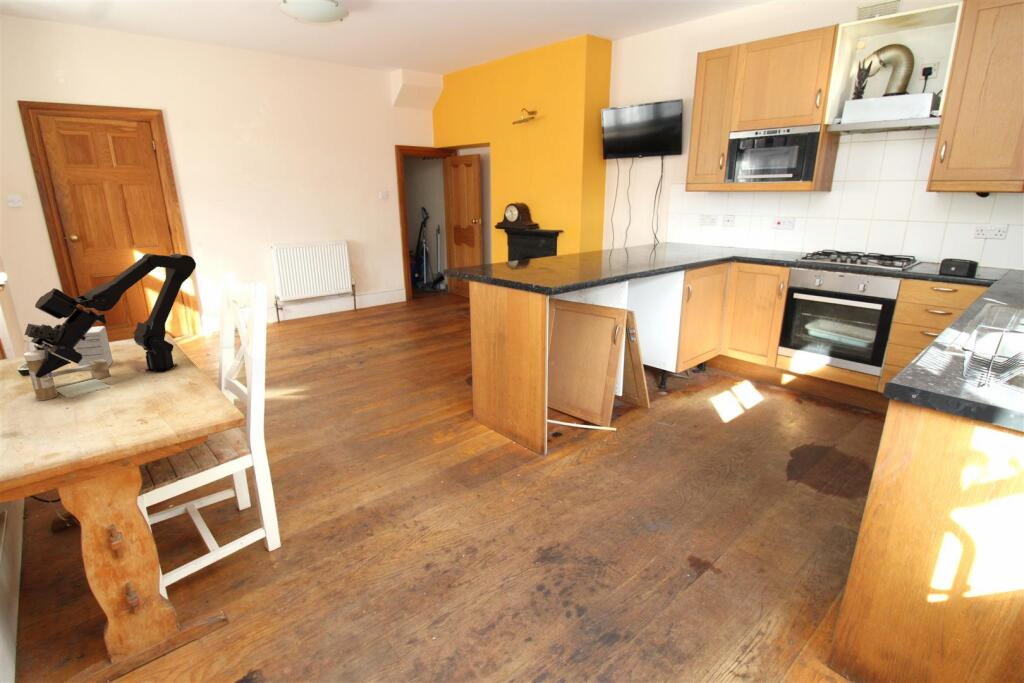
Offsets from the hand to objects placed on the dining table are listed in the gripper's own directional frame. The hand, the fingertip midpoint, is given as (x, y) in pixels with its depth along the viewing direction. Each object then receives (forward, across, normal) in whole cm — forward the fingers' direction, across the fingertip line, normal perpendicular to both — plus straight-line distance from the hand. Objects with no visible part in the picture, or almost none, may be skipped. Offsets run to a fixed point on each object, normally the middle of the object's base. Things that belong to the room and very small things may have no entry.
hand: (34, 375), depth 136 cm
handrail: (-2, -7, +12) cm, 14 cm away
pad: (-2, 0, +12) cm, 12 cm away
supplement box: (-8, -19, +19) cm, 28 cm away
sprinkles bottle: (+4, 0, +6) cm, 7 cm away
